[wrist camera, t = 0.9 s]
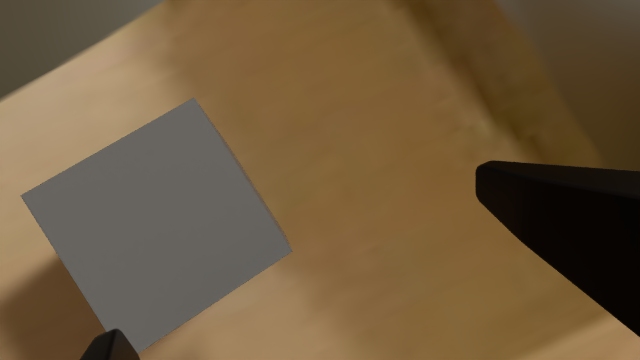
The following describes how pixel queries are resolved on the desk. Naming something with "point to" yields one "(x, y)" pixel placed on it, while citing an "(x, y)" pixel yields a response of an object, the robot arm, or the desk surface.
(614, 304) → the robot arm
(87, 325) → the desk surface
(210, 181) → the grey rectangular block
